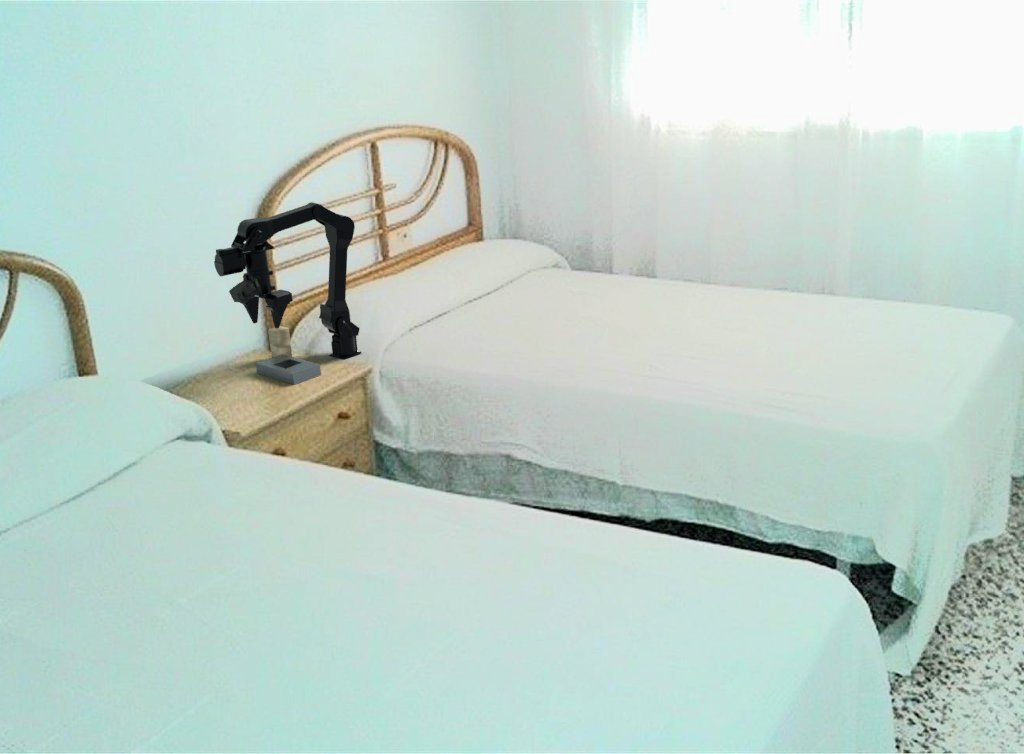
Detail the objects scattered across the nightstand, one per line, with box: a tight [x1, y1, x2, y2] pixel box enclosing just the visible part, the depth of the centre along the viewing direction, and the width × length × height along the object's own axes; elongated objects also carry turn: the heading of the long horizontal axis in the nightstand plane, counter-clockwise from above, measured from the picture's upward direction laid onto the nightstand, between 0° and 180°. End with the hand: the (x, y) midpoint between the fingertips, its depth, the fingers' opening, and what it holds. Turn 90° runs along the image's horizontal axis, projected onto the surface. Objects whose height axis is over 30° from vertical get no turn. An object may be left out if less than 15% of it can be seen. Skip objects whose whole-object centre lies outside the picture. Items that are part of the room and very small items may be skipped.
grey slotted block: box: [255, 354, 322, 385], centre depth 278 cm, size 9×16×3 cm, turn 49°
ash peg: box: [267, 325, 293, 358], centre depth 289 cm, size 4×4×9 cm
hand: (266, 325), depth 275 cm, fingers open, 9 cm apart
